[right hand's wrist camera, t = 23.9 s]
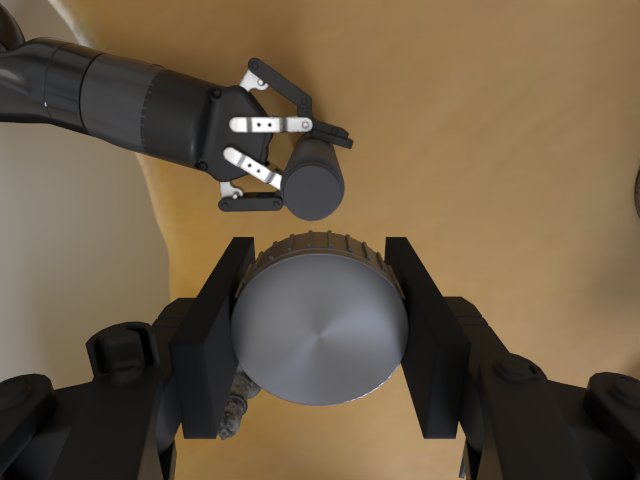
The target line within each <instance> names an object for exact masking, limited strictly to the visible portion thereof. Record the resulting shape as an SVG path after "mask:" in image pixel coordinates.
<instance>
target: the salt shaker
mask: <svg viewBox="0 0 640 480" xmlns="http://www.w3.org/2000/svg"><path fill="white" fill-rule="evenodd" d="M260 390H261V387H260V386H259V385H257V384H256V383H255V382H254V381H253V380H252V379H251V378H250V377H249V376H248V375H247V374H246V373H245V371H244V370H243V369H242V367H241V366H240V364H238V368H237V371H236V374H235V377H234V381H233V384H232V387H231V390H230V394H229V397H228V400H227V404H226V407H225V410H224V413H223V417H222V420H221V423H220V426H219V430H218V433H217V434H218V435H219V436H220V438H221V439H222V440H224V439H226V438H229V437H232V436H233V435H235V434H236V433H237V432H238V430H239V427H240V423H241V419H242V415H243V414H244V413H245V412H246V411H247V407H248V404H247V399H251V398H253V397H254V396H256V395H257V394H258V393H259V392H260Z"/></svg>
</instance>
